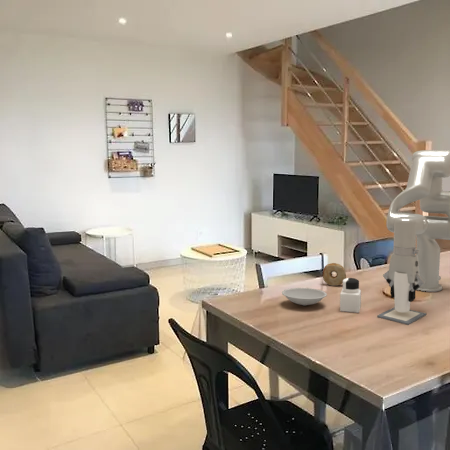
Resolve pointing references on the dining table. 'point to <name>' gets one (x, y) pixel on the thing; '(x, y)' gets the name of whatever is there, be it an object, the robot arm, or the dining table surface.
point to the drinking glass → (401, 292)
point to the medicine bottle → (350, 296)
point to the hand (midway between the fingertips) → (402, 298)
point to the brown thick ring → (331, 279)
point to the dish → (304, 295)
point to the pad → (401, 316)
